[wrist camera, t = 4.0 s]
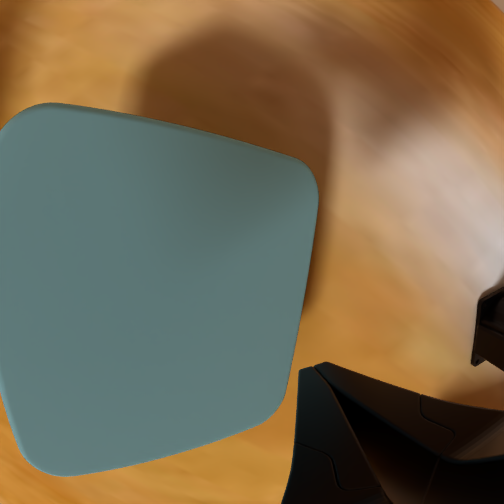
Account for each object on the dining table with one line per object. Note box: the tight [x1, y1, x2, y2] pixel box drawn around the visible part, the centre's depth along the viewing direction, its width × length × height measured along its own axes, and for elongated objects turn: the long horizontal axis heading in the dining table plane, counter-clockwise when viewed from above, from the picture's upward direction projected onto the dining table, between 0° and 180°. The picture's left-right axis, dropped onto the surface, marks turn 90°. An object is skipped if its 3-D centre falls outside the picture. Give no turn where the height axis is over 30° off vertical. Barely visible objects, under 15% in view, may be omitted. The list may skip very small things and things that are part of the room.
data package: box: [0, 103, 319, 477], centre depth 11 cm, size 12×4×12 cm
